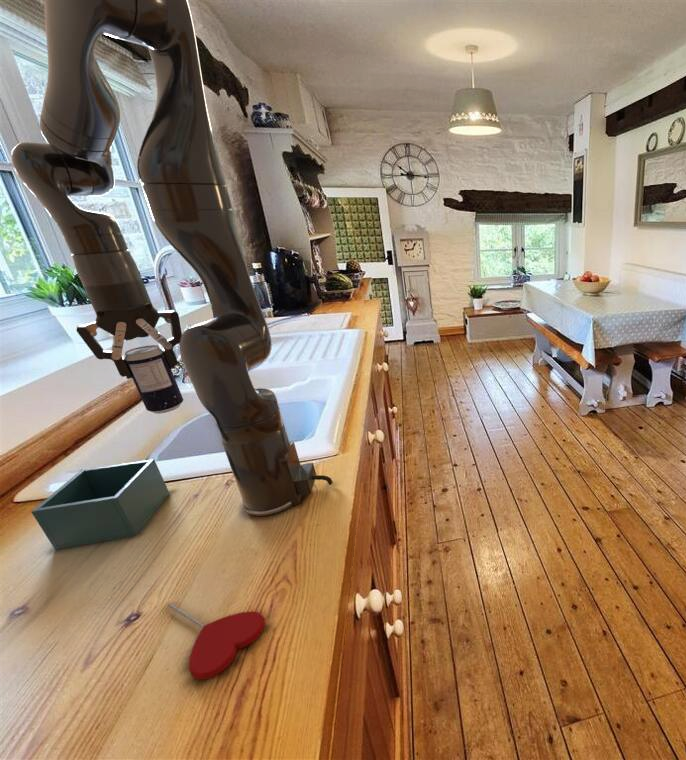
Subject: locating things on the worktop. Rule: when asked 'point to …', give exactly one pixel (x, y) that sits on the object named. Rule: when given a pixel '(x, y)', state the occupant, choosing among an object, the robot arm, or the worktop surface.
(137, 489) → the bin
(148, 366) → the beverage can
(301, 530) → the worktop surface
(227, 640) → the lollipop
